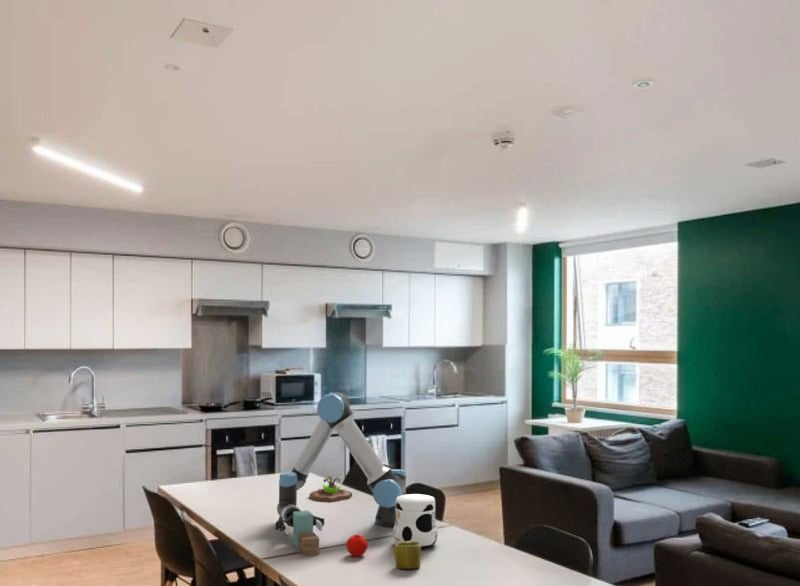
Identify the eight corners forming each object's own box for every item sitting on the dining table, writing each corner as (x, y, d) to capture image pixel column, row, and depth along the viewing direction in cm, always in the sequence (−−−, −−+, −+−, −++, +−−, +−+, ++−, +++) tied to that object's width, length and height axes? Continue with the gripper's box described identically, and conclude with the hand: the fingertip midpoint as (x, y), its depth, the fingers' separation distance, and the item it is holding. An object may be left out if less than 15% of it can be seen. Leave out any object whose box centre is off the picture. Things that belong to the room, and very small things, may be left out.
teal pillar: (312, 546, 271) (313, 515, 272) (297, 548, 269) (297, 516, 269) (307, 541, 278) (308, 510, 279) (292, 542, 276) (293, 511, 277)
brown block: (319, 554, 262) (319, 538, 262) (303, 556, 260) (303, 539, 260) (313, 547, 270) (313, 531, 271) (297, 549, 268) (297, 533, 268)
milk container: (386, 541, 280) (387, 495, 281) (426, 537, 286) (426, 492, 287) (403, 553, 264) (403, 504, 265) (444, 548, 270) (444, 501, 271)
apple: (347, 552, 265) (347, 532, 265) (368, 552, 265) (368, 532, 265) (345, 558, 257) (345, 538, 257) (366, 559, 257) (366, 538, 257)
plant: (302, 498, 355) (302, 476, 355) (327, 492, 371) (327, 470, 371) (333, 504, 343) (333, 481, 344) (357, 497, 359) (357, 474, 360)
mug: (422, 567, 242) (415, 537, 245) (394, 575, 243) (387, 545, 246) (430, 564, 253) (423, 535, 256) (403, 571, 255) (396, 542, 258)
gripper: (321, 522, 295) (335, 535, 275) (262, 527, 286) (272, 541, 266) (321, 504, 296) (335, 516, 276) (263, 509, 287) (273, 521, 267)
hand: (304, 528), depth 271 cm, fingers open, 12 cm apart
